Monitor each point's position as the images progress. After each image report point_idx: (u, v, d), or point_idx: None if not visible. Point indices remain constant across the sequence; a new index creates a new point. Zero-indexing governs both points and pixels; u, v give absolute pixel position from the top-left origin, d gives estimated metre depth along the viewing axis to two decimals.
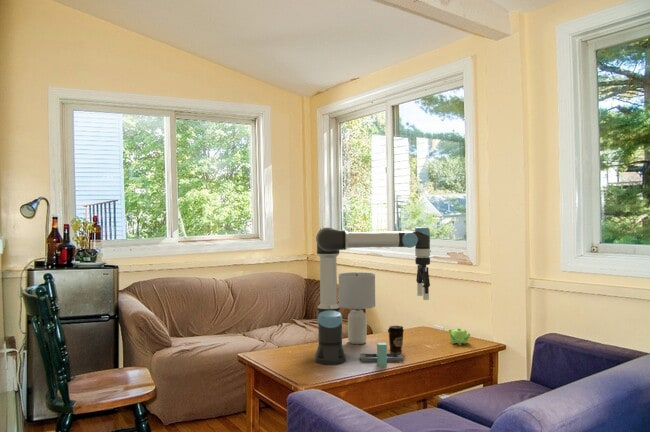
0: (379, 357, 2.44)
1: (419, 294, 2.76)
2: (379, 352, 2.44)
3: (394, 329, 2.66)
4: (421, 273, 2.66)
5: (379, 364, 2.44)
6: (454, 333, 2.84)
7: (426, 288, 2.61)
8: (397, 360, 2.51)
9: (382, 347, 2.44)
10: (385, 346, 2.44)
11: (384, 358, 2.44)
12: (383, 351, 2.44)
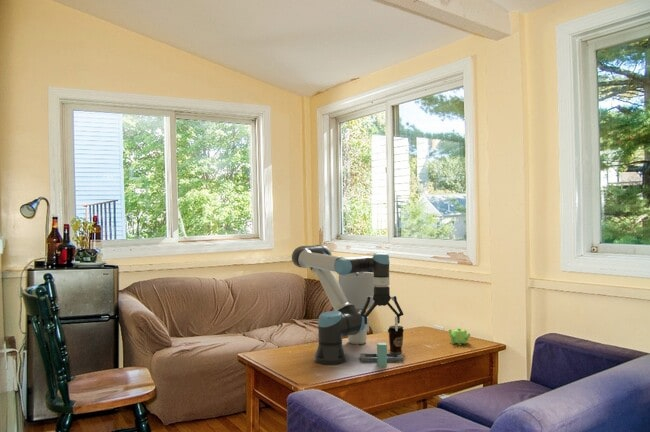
0: (379, 357, 2.44)
1: (395, 328, 2.46)
2: (379, 352, 2.44)
3: (394, 329, 2.66)
4: None
5: (379, 364, 2.44)
6: (454, 333, 2.84)
7: (364, 318, 2.45)
8: (397, 360, 2.51)
9: (382, 347, 2.44)
10: (385, 346, 2.44)
11: (384, 358, 2.44)
12: (383, 351, 2.44)
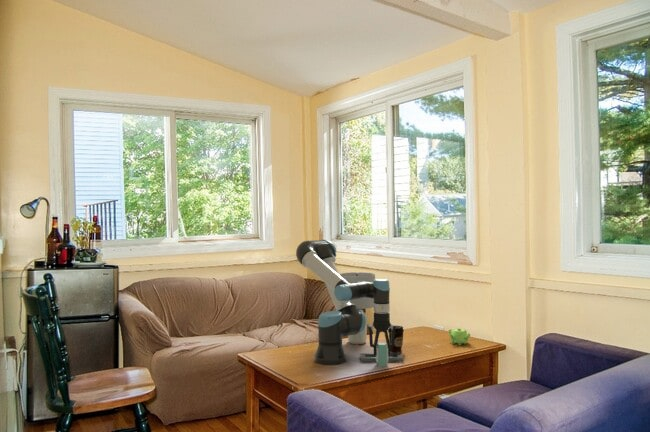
0: (379, 357, 2.44)
1: None
2: (379, 352, 2.44)
3: None
4: (376, 330, 2.47)
5: (379, 364, 2.44)
6: (454, 333, 2.84)
7: None
8: (397, 360, 2.51)
9: (382, 347, 2.44)
10: (385, 346, 2.44)
11: (384, 358, 2.44)
12: (383, 351, 2.44)
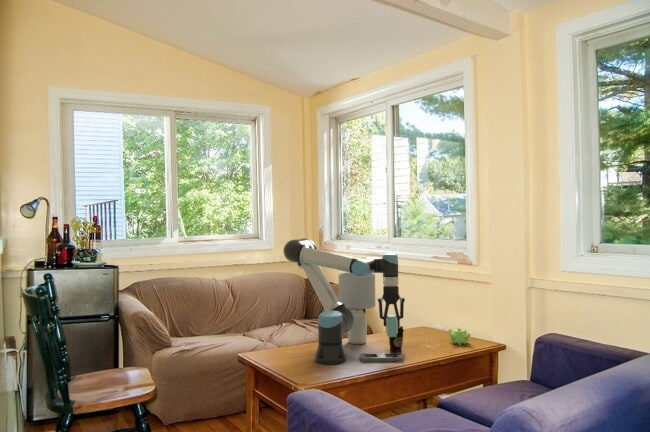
0: (389, 328, 2.53)
1: None
2: (389, 323, 2.53)
3: None
4: None
5: (389, 335, 2.53)
6: (454, 333, 2.84)
7: (383, 320, 2.55)
8: (397, 360, 2.51)
9: (392, 319, 2.53)
10: (395, 318, 2.53)
11: (394, 329, 2.53)
12: (393, 322, 2.53)
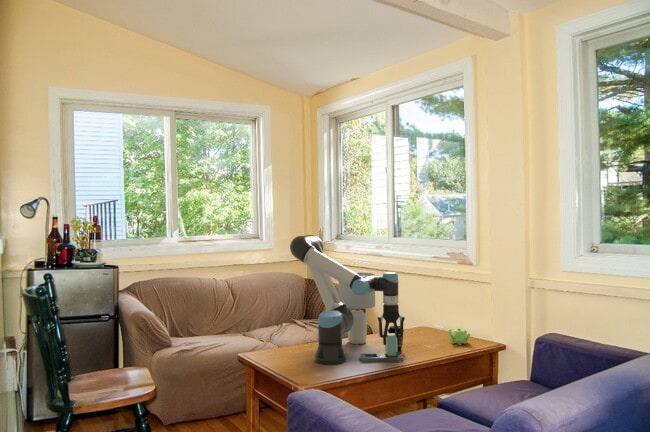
0: (389, 347, 2.53)
1: None
2: (389, 342, 2.53)
3: (394, 329, 2.66)
4: None
5: (389, 354, 2.53)
6: (454, 333, 2.84)
7: (383, 339, 2.55)
8: (397, 360, 2.51)
9: (391, 337, 2.53)
10: (394, 336, 2.53)
11: (394, 348, 2.53)
12: (392, 341, 2.53)
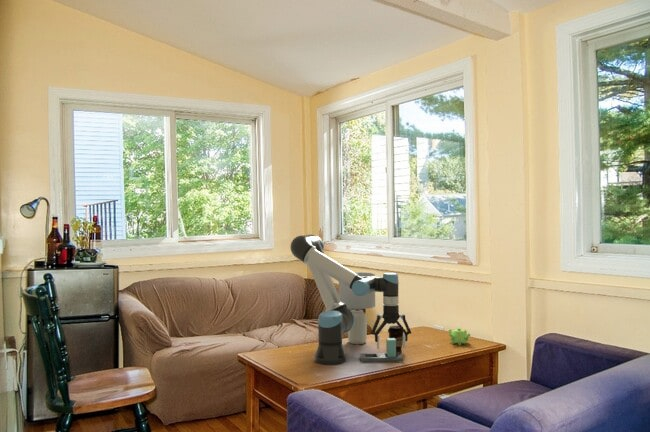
0: (388, 352, 2.53)
1: (403, 346, 2.56)
2: (388, 347, 2.53)
3: (394, 329, 2.66)
4: None
5: None
6: (454, 333, 2.84)
7: (375, 336, 2.55)
8: (397, 360, 2.51)
9: (391, 342, 2.53)
10: (394, 341, 2.53)
11: (394, 353, 2.53)
12: (392, 346, 2.53)
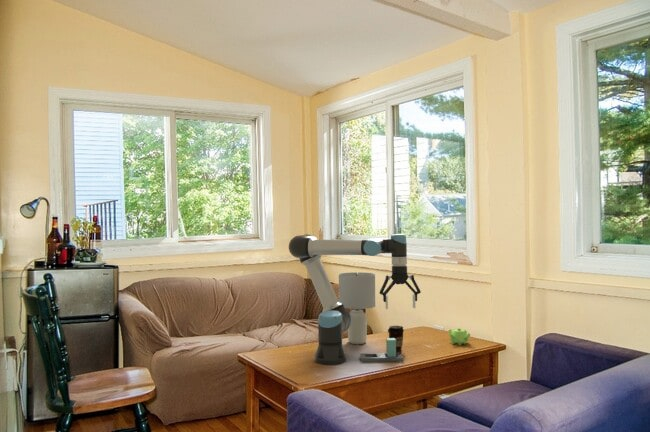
0: (388, 352, 2.53)
1: (413, 306, 2.57)
2: (388, 347, 2.53)
3: (394, 329, 2.66)
4: (392, 281, 2.58)
5: None
6: (454, 333, 2.84)
7: (383, 296, 2.57)
8: (397, 360, 2.51)
9: (391, 342, 2.53)
10: (394, 341, 2.53)
11: (394, 353, 2.53)
12: (392, 346, 2.53)
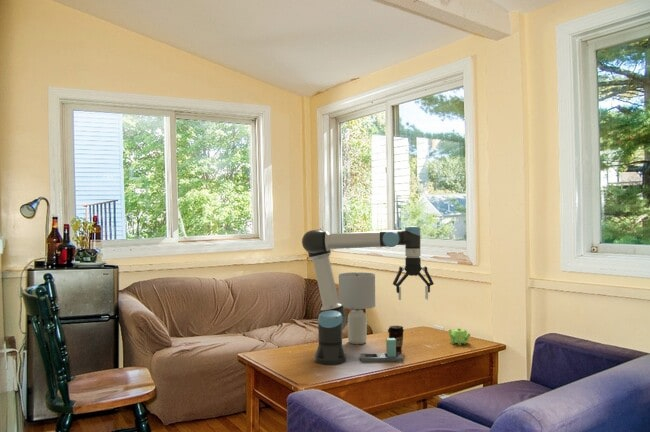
0: (388, 352, 2.53)
1: (425, 297, 2.60)
2: (388, 347, 2.53)
3: (394, 329, 2.66)
4: (405, 273, 2.61)
5: None
6: (454, 333, 2.84)
7: (396, 287, 2.59)
8: (397, 360, 2.51)
9: (391, 342, 2.53)
10: (394, 341, 2.53)
11: (394, 353, 2.53)
12: (392, 346, 2.53)
